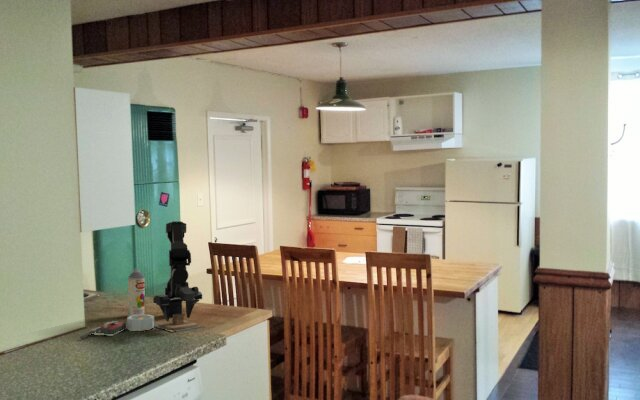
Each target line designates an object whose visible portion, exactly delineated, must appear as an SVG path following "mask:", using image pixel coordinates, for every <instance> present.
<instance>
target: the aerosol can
mask: <svg viewBox="0 0 640 400" xmlns="http://www.w3.org/2000/svg"><path fill="white" fill-rule="evenodd" d="M145 277H146V276H145V275H144V274H143V273H142V272H141V271H140V270H139V268H134V271H132V273H130V275H128V277H127V313H126V314H127V318H128V317H129V316H133V315H145V300H146V299H145V296H146V295H145V287H146V286H145V285H146V282H145V281H146V278H145Z"/></svg>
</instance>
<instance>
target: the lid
mask: <svg viewBox="0 0 640 400" xmlns="http://www.w3.org/2000/svg"><path fill="white" fill-rule="evenodd" d="M183 314H184V313H183ZM183 314H173V317H172V320H171V321H170V320H169V321H164V322H159V323H157V325H158V326H160V327H163V328H166V329H169V330H173V331H176V330H181V329H187V328H192V327H198V326H199V323H196V322H194V321H189V320H186V319H184V318H185V317H184V316H185V315H183Z"/></svg>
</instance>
